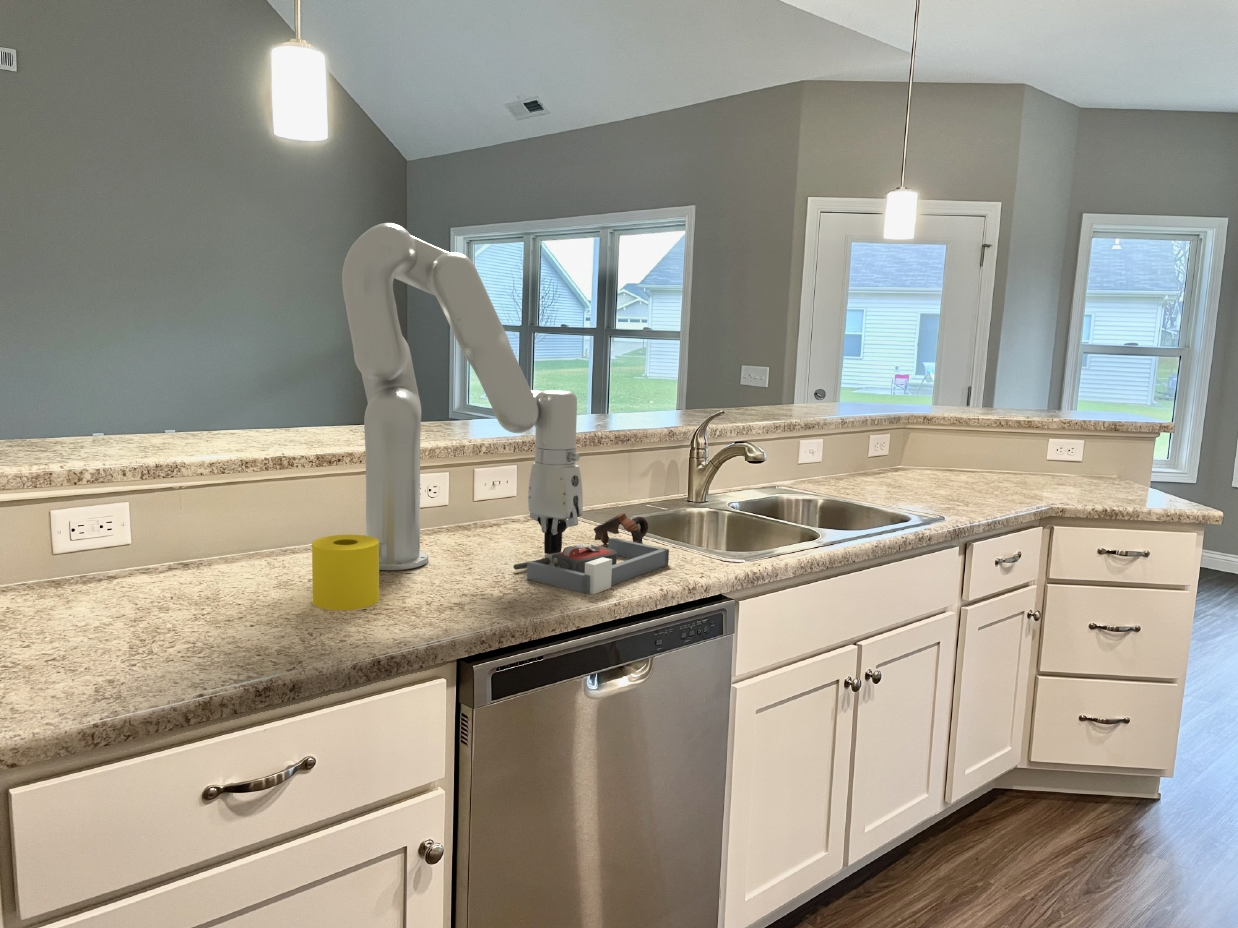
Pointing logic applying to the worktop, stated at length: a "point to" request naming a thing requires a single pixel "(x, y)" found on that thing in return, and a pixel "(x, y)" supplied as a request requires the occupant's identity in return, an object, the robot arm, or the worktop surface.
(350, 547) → the yellow toilet paper roll
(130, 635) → the worktop surface
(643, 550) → the cradle
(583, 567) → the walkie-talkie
